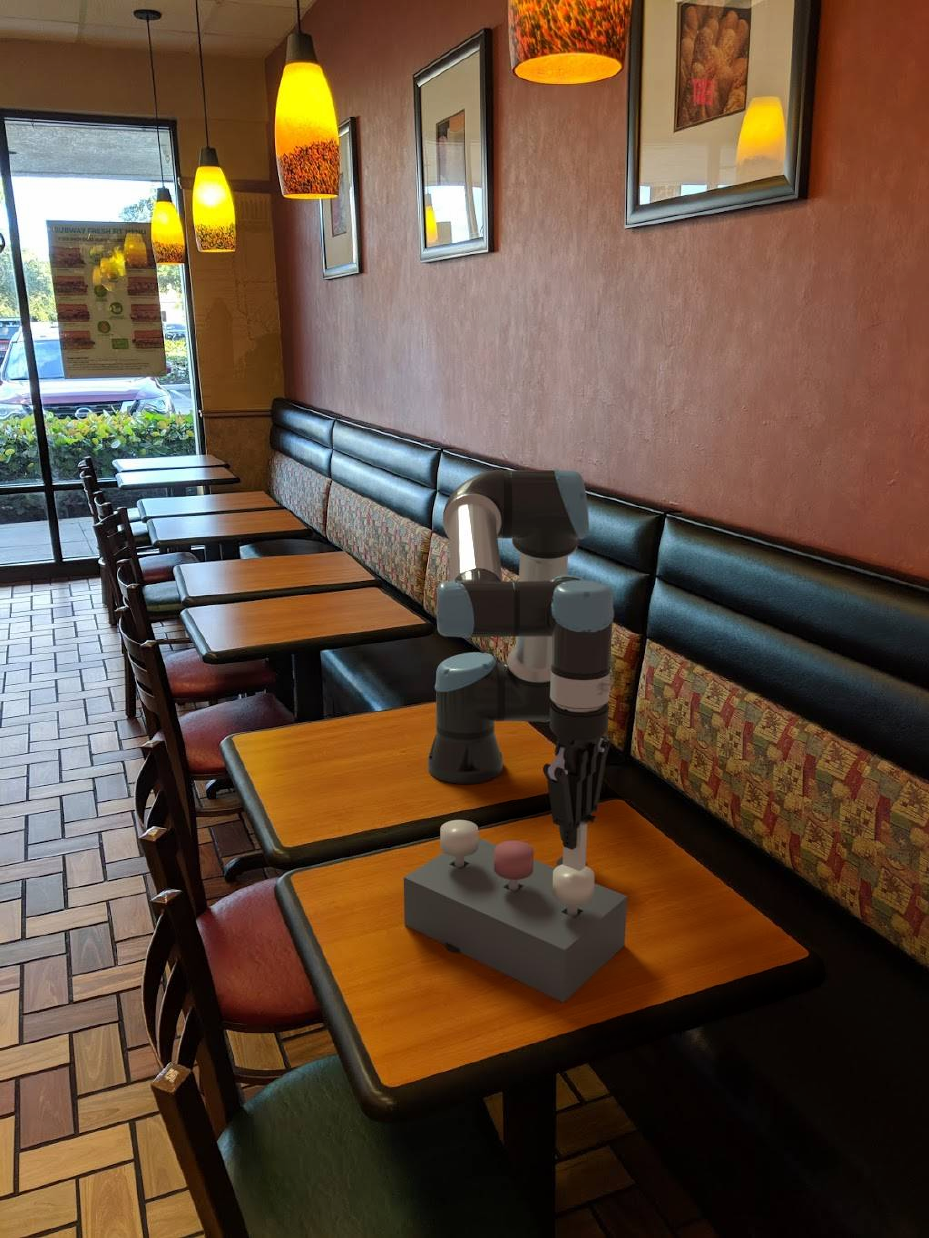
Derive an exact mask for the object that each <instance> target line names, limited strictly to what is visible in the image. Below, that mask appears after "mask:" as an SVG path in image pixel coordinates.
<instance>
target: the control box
mask: <svg viewBox="0 0 929 1238" xmlns="http://www.w3.org/2000/svg"><path fill="white" fill-rule="evenodd" d="M497 845H498V844H496V843H493V842H491V841H488V840H486V839H483V838H480V837H478V850H477V851H476V852H475V853H473V854H471V855H469V856H464V867H463V868H462V869H459V868H456V867H455V856H450V855H447V854H445V853H444V852H443V851H442V853H440V854H439V855H437V856H436V857H434V858H432V859H431V860H429V861H428V862H426V863H424V864H423V865H421V866H420V867H418V868H416V869H415V870H412V871H411V872H410V873H408V874H406V875H405V876H403V907H404V908H403V910H404V911H403V912H404V916H403V917H404V926H406V927H408V928H410V929H413V930H415V931H416V932H418V933H421V934H422V935H424V936H426V937H429V938H431V939H433V940H435V941H436V942H438V943H440V944H443V945H445V946H446V942H447V943H449V944H451V945H453V946H455V947H457V948H459V949H460V952H459V953H461V954H462V955H465V956H467V957H470V958H471V959H473V960H475V961H477V962H478V963H481V964H483V965H486V966H488V967H489V968H491V969H494V970H495V971H497V972H499V973H501V974H504V975H506V976H508V977H510V978H512V979H514V980H516V981H518V982H520V983H523V984H524V985H526V986H528V987H530V988H532V989H533V990H536V991H538V992H540V993H542V994H544V995H546V996H548V997H551V998H553V999H555V1000H556V1001H558V1002H561V1003H565V1001H567V1000H568V999H569V998H570V997H571V996H573V994H574V993H576V991H578V990H579V989H580V988H581V987H582V986H583V985H584V984H585V983H586V982H587V981H588V980H589V979H591V978H592V976H594V975H595V974H596V973H597V972H598V971H599V970H600V969H601V968H602V967H604V965H606V963H608V962H609V961H610V960H611V959H612V958H613V957H614V956H615V955H616V954H617V953H618V952H620V950H622V949H623V948H624V947H625V945H626V929H627V927H626V926H627V908H628V907H627V906H628V896H627V895H625V894H622V893H619V892H618V891H615V890H612V889H610V888H607V887H605V886H603V885H600V884H597V883H595V882H594V896H593V898H592V900H591V901H589V902H587V903H585V904H581V905H578V912H577V916H576V917H575V918H574V917H572V916H569V915H567V904H565V903H562V902H560V901H558V900H557V899H555V897H554V896H553V893H552V891H553V871H554V869H555V868H556V867H554V866H552V865H549V864H546V863H543V862H541V861H538V860H536V859H534V863H533V873H532V874H531V875H530V876H529V877H527V878H524V879H519V880H518V891H517V892H513V891H510V890H509V879H505V878H502V877H500V876H498V875H497V874H496V873H495V871H494V849H495V847H496V846H497Z"/></svg>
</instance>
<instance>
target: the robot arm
mask: <svg viewBox="0 0 929 1238" xmlns="http://www.w3.org/2000/svg"><path fill="white" fill-rule="evenodd" d="M587 499H588V498H587V492H586V487H585V481H584V478H583V476H582V475H581V474H580V473H579V472H578V471H575V470H566V469H565V470H562V469H558V468H554V469H551V470H550V469H548V470H544V469H541V470H539V469H536V470H535V469H534V470H530V469H529V470H524V469H523V470H522V469H521V470H520V469H519V470H516V469H512V470H505V469H503V470H502V469H497V470H496V469H495V470H489V471H484V472H482V473H479V474H476V475H473V476H472V477H470V478H468V479H467V480H465V481H464V482H462V483H461V484H460V485H459V486H458V487H456V489H455V490H454V491H453V492H452V493H451V494H450V496H449V497H448V499H447V501H446V503H445V505H444V508H443V512H442V526H443V530H444V532H445V535H446V536H447V538H448V539H449V576H450V577H449V579H450V581H443V582H441V583H439V584H438V586H437V587H436V624H437V625H436V627H437V628H436V630H437V632H438V634H440V635H441V636H442V637H451V638H452V637H453V638H463V639H469V638H495V637H497V638H499V637H500V638H501V637H502V638H503V637H505V638H509V637H515V647H514V648H513V649H512V650H511V651H510V652H509V654H508V656H507V659H506V661H504V662H497V660H496V659H495V657H494V655H492V654H490V653H489V652H488V653H486V652H485V653H484V652H482V651H481V652H479V651H478V652H477V651H473V652H463V653H460V654H456V655H453V656H450V657H448V658H446V659H444V660H443V661H441V662H440V663H439V665H438V667H437V669H436V675H435V676H436V677H435V685H434V690H435V691H436V695H435V697H436V699H435V701H436V702H435V706H436V707H435V709H436V713H435V715H436V716H435V718H436V721H435V724H436V725H435V726H436V732H435V734H434V735H435V736H434V739H433V742H432V744H431V748H430V751H429V754H428V757H427V770H428V773H429V774H430V775H431V776H432V777H433V778H436V779H438V780H440V781H442V782H447V783H451V784H457V785H459V784H461V785H469V784H471V785H474V784H481V783H485V782H488V781H491V780H493V779H495V778H497V777H499V776H500V775H501V773H502V772H503V769H504V767H503V766H504V764H503V763H504V758H503V755H502V752H501V751H500V747H499V746H500V745H499V743H498V739H497V737H496V734H495V732H496V731H495V722H543V723H546V722H549V729H550V731H551V732H552V733H553V734H554V735H555V737H556V740H557V741H556V743H555V744H556V745H555V748H554V756H555V758H554V760H552V761H553V762H552V763H551V764H550V763H545V764H544V765H543V768H542V772H543V774H544V776H545V778H546V780H547V781H546V782H547V788H548V789H547V790H548V794H549V795H548V796H549V802H550V810H551V817H552V824H553V825H557V826H558V827H559V826H562V827H563V841H562V857H563V865H565V866H567V867H570V868H573V869H575V870H578V871H581V870H582V869H583V868H584V867H586V863H587V841H588V840H587V838H588V836H587V835H588V826H587V821H588V823H594V822H595V821H596V819H597V818H596V816H594V815H593V814H592V815H591V812H592V811H594V812H597V811H598V808H599V803H600V795H601V790H602V789H601V788H602V784H603V778H604V772H605V767H606V766H605V765H606V761H607V756H608V753H609V750H610V747H611V741H610V739H605V738H602V737H603V736H604V735H606V733H607V732H608V730H609V713H610V707H609V705H608V704H607V703H608V702H609V700H610V691H611V689H612V688H611V687H612V686H611V684H610V682H611V681H610V680H611V679H610V675H611V674H610V673H611V657H612V655H611V654H612V640H613V639H612V637H613V621H614V618H615V609H614V593H613V590H612V589H611V587H610V586H609V585H608V584H604V583H601V582H600V581H594V580H586V579H583V578H582V577H579V576H577V575H573V574H568V565H569V564H568V563H569V562H568V561H569V556H571V555H573V553H575V552H576V551H577V549H578V546H579V540H583V539H586V538H588V537H589V534H590V522H589V521H590V520H589V519H590V518H589V507H588V500H587ZM499 539H511V543H512V546H513V548H514V550H516V551H517V552H518V553H519V566H518V567H519V570H518V581H515V580H514V581H508V580H507V581H503V572H502V565H501V556H500V547H499ZM591 800H592V801H591ZM594 812H593V813H594Z"/></svg>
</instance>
